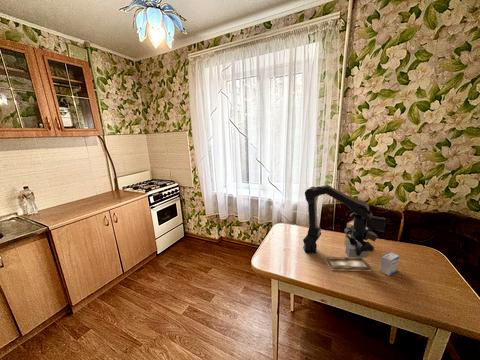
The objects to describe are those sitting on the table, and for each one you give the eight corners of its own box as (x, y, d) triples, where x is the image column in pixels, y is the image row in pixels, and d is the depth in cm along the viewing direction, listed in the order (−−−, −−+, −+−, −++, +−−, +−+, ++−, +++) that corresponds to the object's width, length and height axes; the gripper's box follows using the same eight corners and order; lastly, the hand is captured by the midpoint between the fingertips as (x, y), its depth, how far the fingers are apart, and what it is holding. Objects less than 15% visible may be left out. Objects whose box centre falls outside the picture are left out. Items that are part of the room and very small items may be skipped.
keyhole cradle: (331, 270, 103) (331, 267, 102) (325, 259, 111) (325, 256, 111) (371, 271, 101) (371, 268, 100) (362, 260, 110) (362, 257, 109)
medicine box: (388, 276, 97) (391, 261, 95) (379, 271, 101) (381, 256, 99) (397, 270, 100) (400, 256, 98) (387, 265, 104) (390, 251, 102)
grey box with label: (348, 257, 103) (349, 248, 102) (345, 252, 107) (346, 244, 105) (366, 257, 102) (367, 248, 101) (362, 253, 106) (363, 244, 105)
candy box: (350, 247, 121) (353, 225, 118) (344, 244, 125) (346, 222, 121) (358, 243, 126) (361, 221, 122) (351, 240, 130) (353, 218, 126)
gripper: (388, 235, 91) (383, 265, 94) (366, 218, 109) (362, 243, 112) (362, 235, 92) (358, 264, 95) (345, 218, 110) (342, 243, 113)
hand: (356, 253), depth 104 cm, fingers closed on grey box with label, 4 cm apart
